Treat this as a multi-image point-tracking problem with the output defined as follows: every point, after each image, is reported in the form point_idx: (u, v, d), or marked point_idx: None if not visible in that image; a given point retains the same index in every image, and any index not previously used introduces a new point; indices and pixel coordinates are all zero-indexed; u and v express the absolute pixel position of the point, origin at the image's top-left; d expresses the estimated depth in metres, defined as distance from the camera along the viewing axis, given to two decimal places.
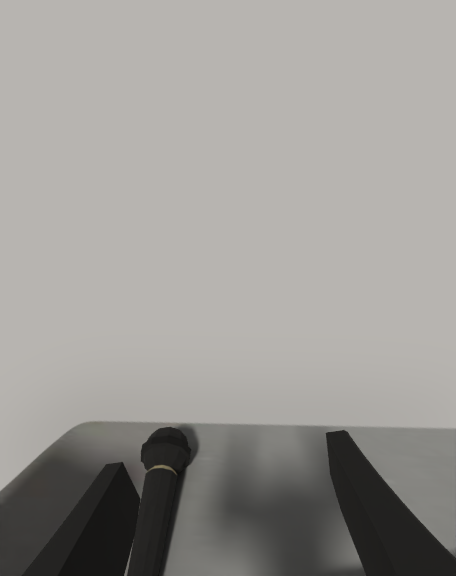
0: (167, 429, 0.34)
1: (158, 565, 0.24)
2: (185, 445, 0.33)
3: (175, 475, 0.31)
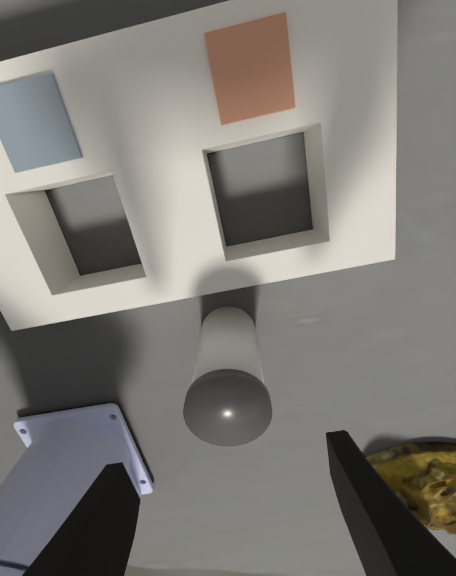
0: None
1: None
2: None
3: None
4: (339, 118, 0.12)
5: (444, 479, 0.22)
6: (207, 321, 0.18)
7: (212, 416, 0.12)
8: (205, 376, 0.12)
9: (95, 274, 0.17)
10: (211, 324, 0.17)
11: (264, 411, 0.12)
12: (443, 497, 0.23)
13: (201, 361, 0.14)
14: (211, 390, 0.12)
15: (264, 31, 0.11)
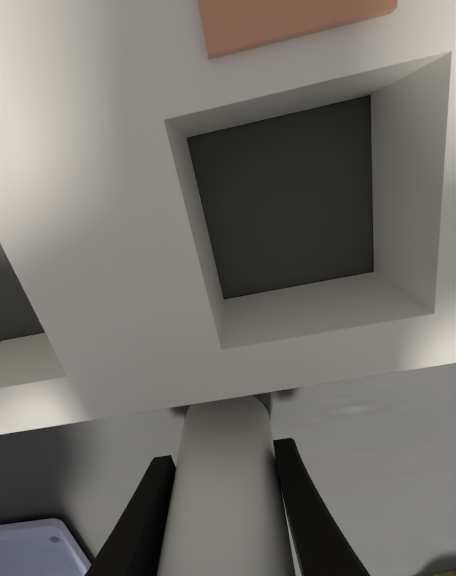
0: None
1: None
2: None
3: None
4: None
5: None
6: (192, 419, 0.11)
7: None
8: None
9: (2, 345, 0.10)
10: (198, 433, 0.10)
11: None
12: None
13: (172, 551, 0.07)
14: None
15: None
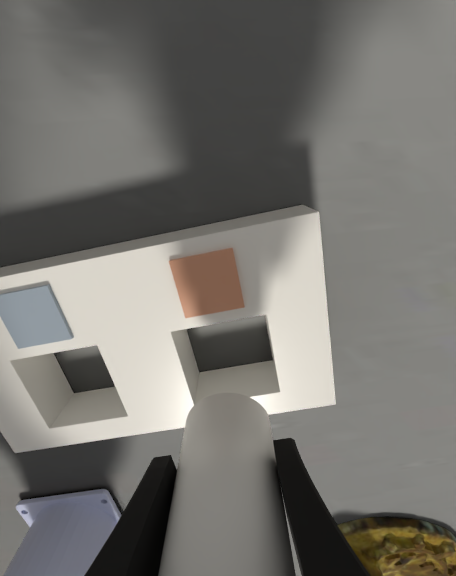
0: None
1: None
2: None
3: None
4: (282, 310, 0.15)
5: (397, 552, 0.24)
6: (194, 422, 0.11)
7: None
8: None
9: (86, 395, 0.20)
10: (199, 435, 0.10)
11: None
12: (397, 565, 0.25)
13: (174, 551, 0.07)
14: None
15: (216, 257, 0.13)
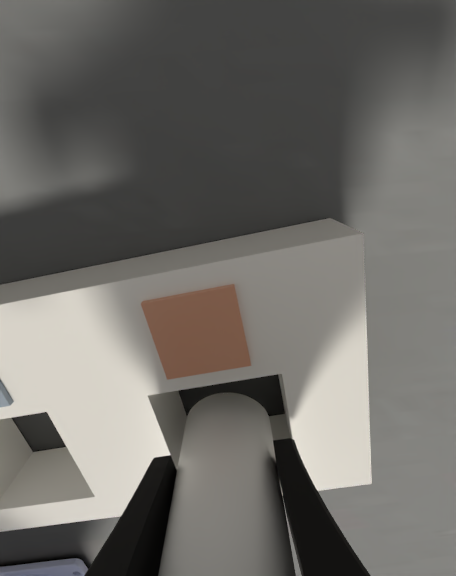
0: None
1: None
2: None
3: None
4: (303, 368, 0.10)
5: None
6: (193, 422, 0.11)
7: None
8: None
9: (48, 456, 0.16)
10: (199, 435, 0.10)
11: None
12: None
13: (174, 551, 0.07)
14: None
15: (211, 298, 0.09)
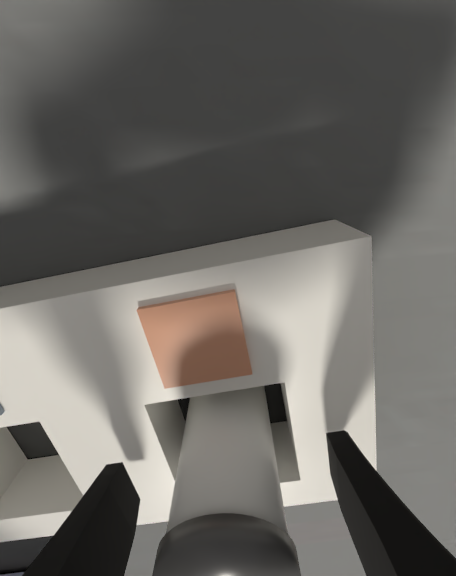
0: None
1: None
2: None
3: None
4: (307, 377, 0.10)
5: None
6: None
7: None
8: (188, 528, 0.07)
9: (43, 464, 0.15)
10: None
11: None
12: None
13: (185, 474, 0.09)
14: (199, 557, 0.07)
15: (210, 303, 0.09)
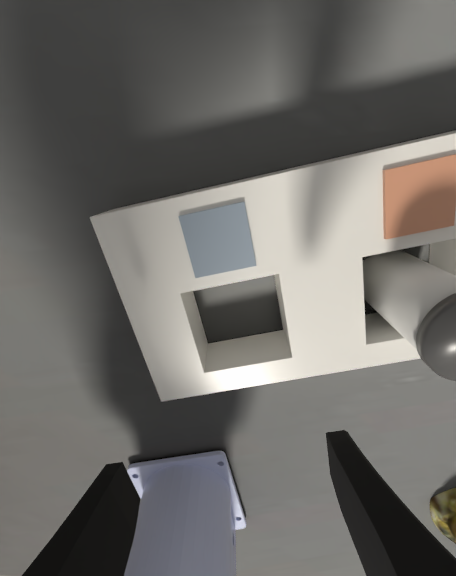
0: None
1: None
2: None
3: None
4: None
5: None
6: (375, 262, 0.16)
7: None
8: None
9: (225, 344, 0.19)
10: (388, 262, 0.15)
11: None
12: None
13: (417, 289, 0.12)
14: None
15: (435, 166, 0.12)
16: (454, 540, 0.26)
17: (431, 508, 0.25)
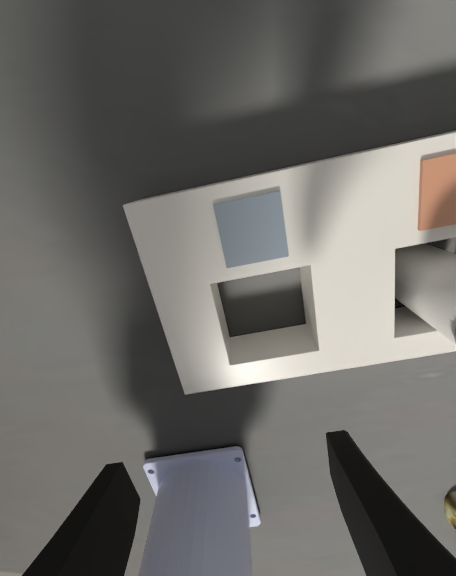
0: None
1: None
2: None
3: None
4: None
5: None
6: (403, 255, 0.16)
7: None
8: None
9: (247, 337, 0.19)
10: (418, 255, 0.15)
11: None
12: None
13: (454, 280, 0.12)
14: None
15: None
16: None
17: (446, 505, 0.25)
